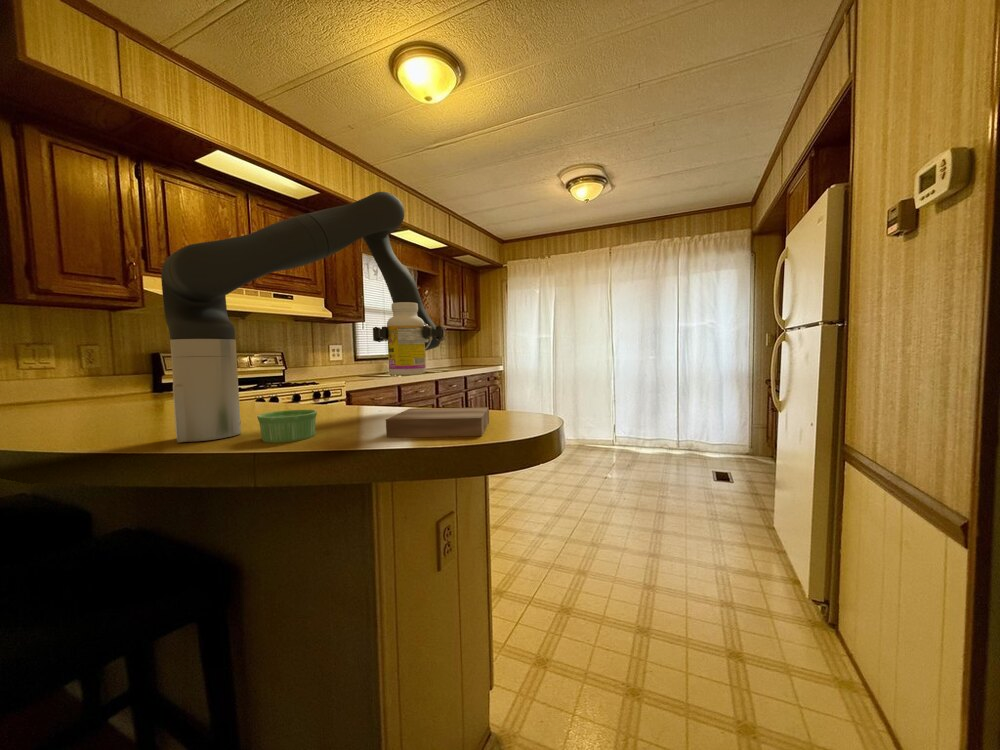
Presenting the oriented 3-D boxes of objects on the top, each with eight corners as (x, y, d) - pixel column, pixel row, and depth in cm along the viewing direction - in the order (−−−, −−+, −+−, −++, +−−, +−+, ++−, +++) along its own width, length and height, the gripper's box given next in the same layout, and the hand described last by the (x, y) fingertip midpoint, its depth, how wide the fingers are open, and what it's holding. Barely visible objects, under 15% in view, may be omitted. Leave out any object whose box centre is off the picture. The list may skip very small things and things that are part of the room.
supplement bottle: (390, 373, 75) (387, 305, 74) (425, 372, 76) (423, 305, 75) (387, 375, 68) (384, 301, 67) (426, 374, 70) (423, 301, 69)
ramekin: (247, 445, 63) (245, 418, 62) (274, 434, 72) (273, 410, 71) (305, 443, 63) (304, 416, 63) (325, 432, 72) (324, 408, 72)
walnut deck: (481, 436, 64) (481, 418, 64) (386, 437, 65) (385, 419, 65) (489, 422, 77) (488, 407, 77) (409, 423, 78) (409, 408, 78)
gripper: (379, 319, 85) (361, 311, 68) (446, 318, 87) (445, 310, 70) (380, 353, 85) (363, 354, 69) (447, 352, 87) (446, 352, 71)
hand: (404, 332), depth 69 cm, fingers closed on supplement bottle, 6 cm apart
